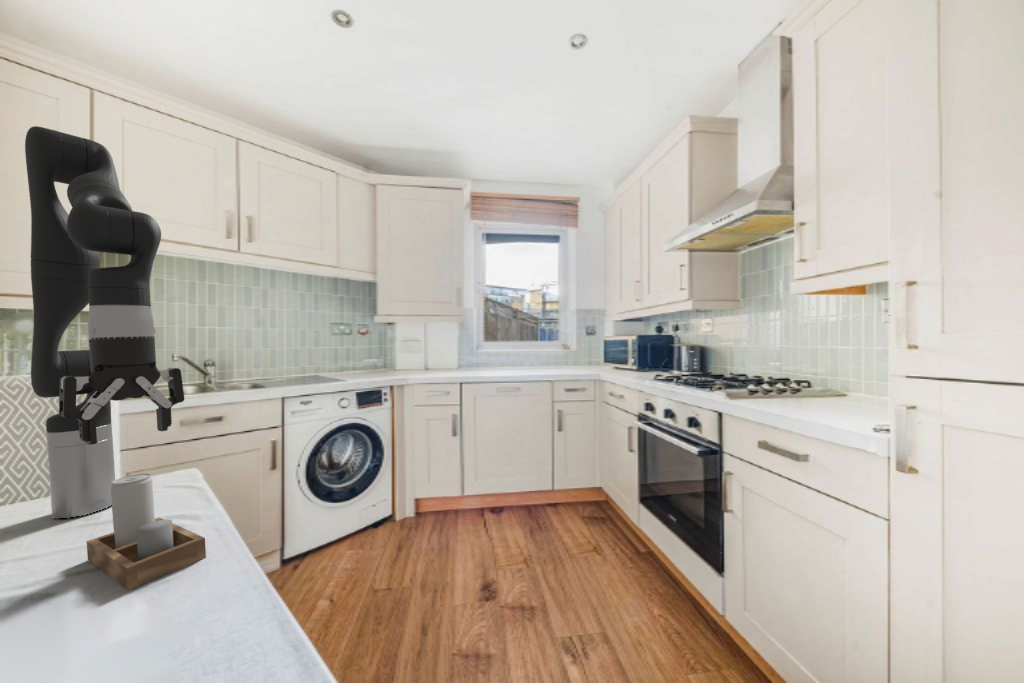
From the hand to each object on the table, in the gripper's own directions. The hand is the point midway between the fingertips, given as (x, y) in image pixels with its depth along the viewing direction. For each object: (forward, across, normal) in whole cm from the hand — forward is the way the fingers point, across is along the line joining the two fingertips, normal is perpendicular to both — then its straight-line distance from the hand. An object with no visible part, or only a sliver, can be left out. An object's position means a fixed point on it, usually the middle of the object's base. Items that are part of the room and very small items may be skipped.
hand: (128, 436), depth 64 cm
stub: (+18, 0, +8) cm, 20 cm away
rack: (+19, 0, +4) cm, 19 cm away
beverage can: (+19, 0, 0) cm, 19 cm away
